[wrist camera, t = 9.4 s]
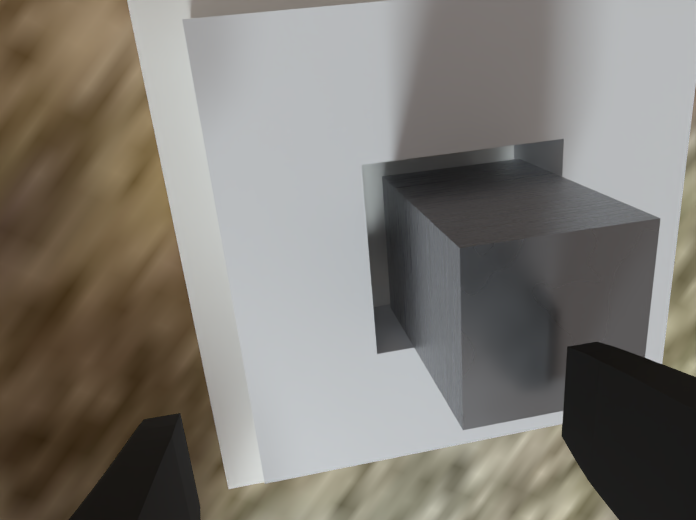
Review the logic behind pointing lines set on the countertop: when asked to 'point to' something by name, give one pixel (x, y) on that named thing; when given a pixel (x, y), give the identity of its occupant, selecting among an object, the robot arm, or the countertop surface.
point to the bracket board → (381, 186)
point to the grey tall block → (513, 281)
